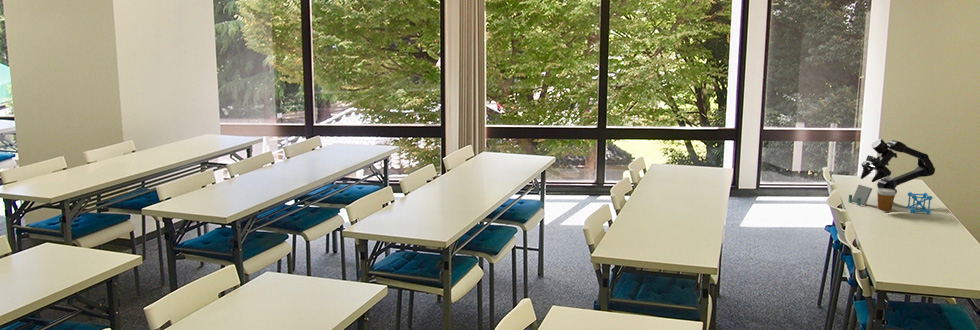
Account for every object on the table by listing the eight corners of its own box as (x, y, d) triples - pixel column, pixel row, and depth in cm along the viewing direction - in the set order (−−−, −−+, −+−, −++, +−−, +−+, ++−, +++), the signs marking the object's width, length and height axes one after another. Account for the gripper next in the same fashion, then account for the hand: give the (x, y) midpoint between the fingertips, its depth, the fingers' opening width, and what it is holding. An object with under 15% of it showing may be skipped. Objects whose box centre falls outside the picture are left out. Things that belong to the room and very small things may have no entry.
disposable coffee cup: (889, 209, 430) (892, 188, 428) (897, 213, 421) (899, 192, 419) (872, 209, 431) (874, 187, 429) (878, 213, 422) (880, 191, 420)
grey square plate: (852, 202, 444) (860, 185, 443) (864, 206, 435) (872, 188, 434) (851, 201, 444) (858, 184, 443) (863, 205, 435) (871, 188, 434)
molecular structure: (931, 214, 420) (933, 196, 418) (911, 213, 422) (913, 195, 420) (925, 209, 430) (926, 192, 428) (905, 209, 432) (907, 191, 430)
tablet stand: (860, 202, 448) (861, 192, 447) (876, 207, 435) (877, 197, 434) (844, 203, 445) (845, 193, 444) (861, 208, 432) (861, 198, 431)
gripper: (864, 147, 445) (847, 168, 445) (887, 152, 427) (869, 174, 427) (876, 159, 448) (858, 180, 448) (899, 165, 430) (881, 186, 431)
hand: (866, 180), depth 439 cm, fingers open, 9 cm apart
